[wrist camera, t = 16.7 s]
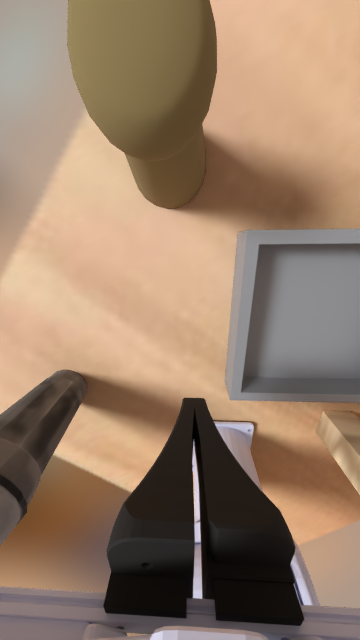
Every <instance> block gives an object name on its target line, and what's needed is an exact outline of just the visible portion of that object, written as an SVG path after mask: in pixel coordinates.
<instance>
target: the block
mask: <svg viewBox="0 0 360 640" xmlns="http://www.w3.org/2000/svg"><path fill="white" fill-rule="evenodd" d="M316 433H317V434H318V435H319V437H320V438H321V440H322V441H323V443H324V444H325V446H326V447H327V449H328V450H329V451H330V453H331V454H332V456H333V457H334V459H335V460H336V462H337V463H338V464H339V466H340V467H341V469H342V470H343V472H344V473H345V475H346V476H347V477H348V479H349V480H350V482H351V483H352V485H353V486H354V488H355V489H356V491H357V492H358V493H359V495H360V419H359V418H358V417H357V416H356V415H355V414H354V413H353V412H352V411H322V414H321V417H320V420H319V423H318V427H317V430H316Z"/></svg>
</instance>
